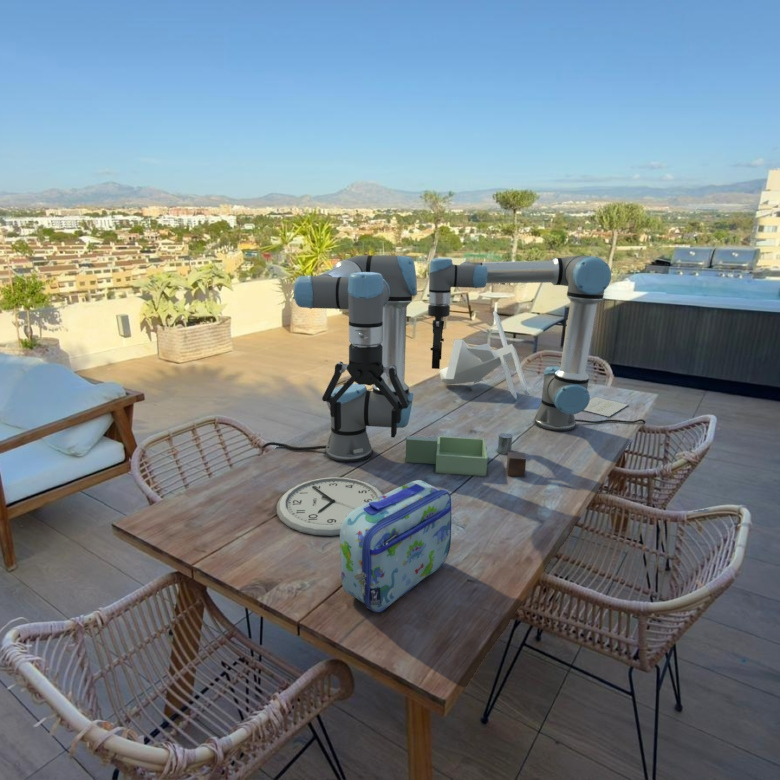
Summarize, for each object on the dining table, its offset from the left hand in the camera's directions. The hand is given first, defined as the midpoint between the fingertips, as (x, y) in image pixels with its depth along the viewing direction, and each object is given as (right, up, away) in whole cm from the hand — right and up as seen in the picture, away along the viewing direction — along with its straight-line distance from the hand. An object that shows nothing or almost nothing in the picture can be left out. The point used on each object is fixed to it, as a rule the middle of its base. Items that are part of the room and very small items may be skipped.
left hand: (365, 432), depth 122 cm
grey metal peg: (+45, -11, +57) cm, 73 cm away
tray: (+24, -14, +47) cm, 55 cm away
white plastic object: (+47, +9, +121) cm, 130 cm away
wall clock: (-10, -22, +20) cm, 31 cm away
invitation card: (+97, +3, +104) cm, 142 cm away
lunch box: (+7, -31, -10) cm, 34 cm away
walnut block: (+45, -16, +41) cm, 63 cm away
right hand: (+22, +19, +65) cm, 71 cm away
